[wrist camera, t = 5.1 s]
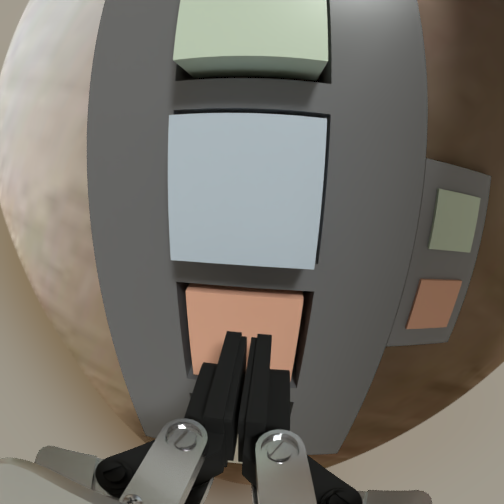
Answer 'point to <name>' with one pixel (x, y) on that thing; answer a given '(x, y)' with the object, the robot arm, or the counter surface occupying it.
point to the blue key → (245, 188)
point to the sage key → (252, 38)
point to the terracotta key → (242, 321)
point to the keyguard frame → (331, 218)
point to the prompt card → (441, 254)
